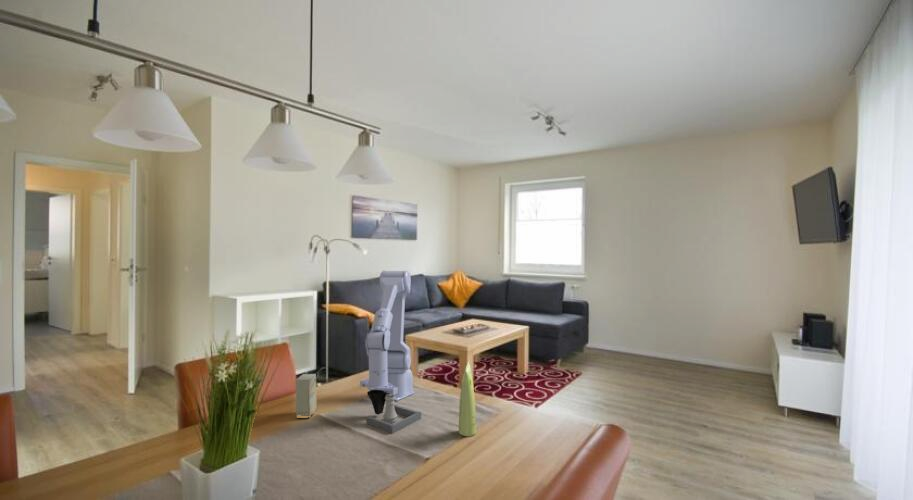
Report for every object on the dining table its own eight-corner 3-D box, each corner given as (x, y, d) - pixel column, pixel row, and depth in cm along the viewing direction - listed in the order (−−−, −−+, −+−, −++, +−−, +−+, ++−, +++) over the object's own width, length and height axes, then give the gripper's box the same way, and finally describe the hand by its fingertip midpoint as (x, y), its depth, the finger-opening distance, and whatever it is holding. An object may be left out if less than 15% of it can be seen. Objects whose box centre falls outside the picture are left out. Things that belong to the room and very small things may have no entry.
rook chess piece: (392, 416, 130) (391, 391, 130) (400, 420, 127) (400, 394, 127) (379, 420, 127) (379, 394, 127) (388, 425, 124) (388, 398, 124)
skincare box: (309, 419, 129) (309, 379, 129) (295, 419, 129) (294, 379, 129) (317, 410, 136) (316, 373, 135) (303, 410, 136) (302, 373, 136)
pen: (394, 410, 135) (394, 404, 135) (421, 418, 129) (421, 412, 129) (365, 424, 125) (365, 417, 125) (392, 433, 119) (392, 426, 119)
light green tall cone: (481, 434, 118) (480, 365, 117) (466, 439, 115) (465, 368, 114) (469, 427, 122) (468, 360, 122) (454, 431, 119) (454, 363, 119)
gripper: (352, 369, 131) (353, 412, 132) (385, 377, 123) (386, 423, 123) (369, 363, 137) (369, 404, 137) (402, 371, 129) (402, 415, 129)
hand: (378, 413), depth 131 cm, fingers closed
